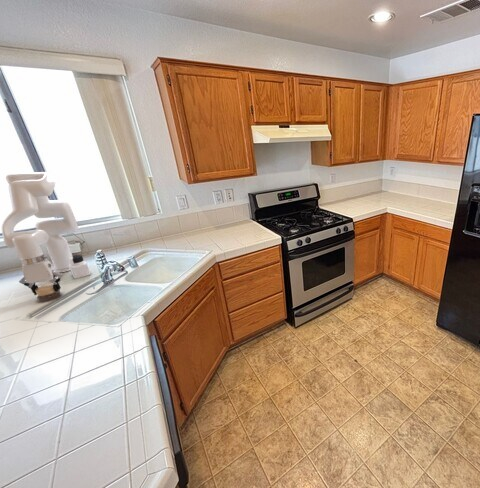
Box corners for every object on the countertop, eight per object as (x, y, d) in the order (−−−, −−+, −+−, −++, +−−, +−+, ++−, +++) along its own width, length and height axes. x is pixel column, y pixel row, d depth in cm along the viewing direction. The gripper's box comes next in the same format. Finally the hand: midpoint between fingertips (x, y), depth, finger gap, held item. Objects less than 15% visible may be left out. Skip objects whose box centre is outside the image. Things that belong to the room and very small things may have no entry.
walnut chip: (44, 295, 134) (42, 291, 134) (64, 291, 137) (63, 288, 137) (34, 303, 127) (32, 300, 126) (56, 299, 130) (54, 296, 129)
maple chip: (42, 289, 133) (40, 285, 132) (60, 286, 135) (59, 282, 135) (33, 296, 126) (31, 292, 126) (53, 293, 129) (51, 289, 128)
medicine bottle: (88, 271, 160) (81, 253, 156) (90, 274, 156) (84, 256, 152) (72, 275, 155) (65, 256, 151) (75, 279, 151) (67, 259, 146)
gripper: (60, 254, 131) (73, 285, 137) (14, 259, 125) (29, 291, 131) (52, 259, 125) (66, 292, 131) (3, 265, 119) (19, 299, 125)
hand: (47, 291), depth 131 cm, fingers closed on maple chip, 7 cm apart
